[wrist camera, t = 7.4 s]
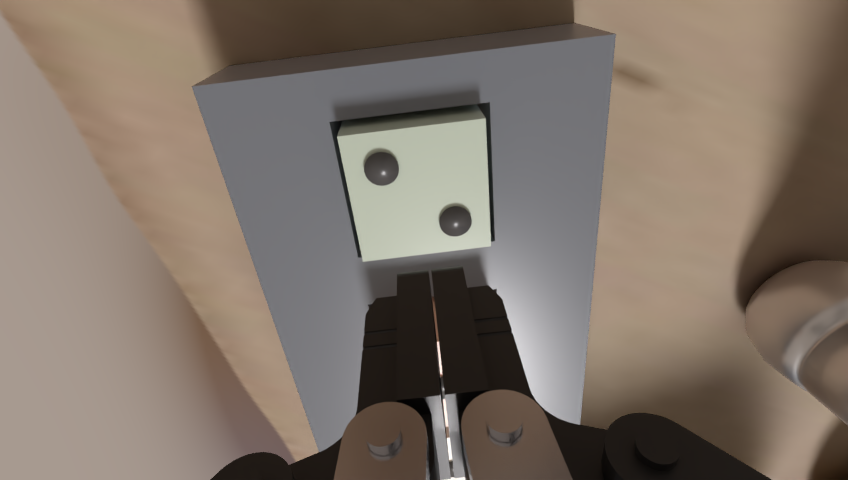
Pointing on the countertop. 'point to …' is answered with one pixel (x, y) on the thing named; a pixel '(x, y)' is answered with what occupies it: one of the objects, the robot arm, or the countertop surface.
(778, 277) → the plastic bottle
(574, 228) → the button panel
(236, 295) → the countertop surface
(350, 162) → the button two dots
